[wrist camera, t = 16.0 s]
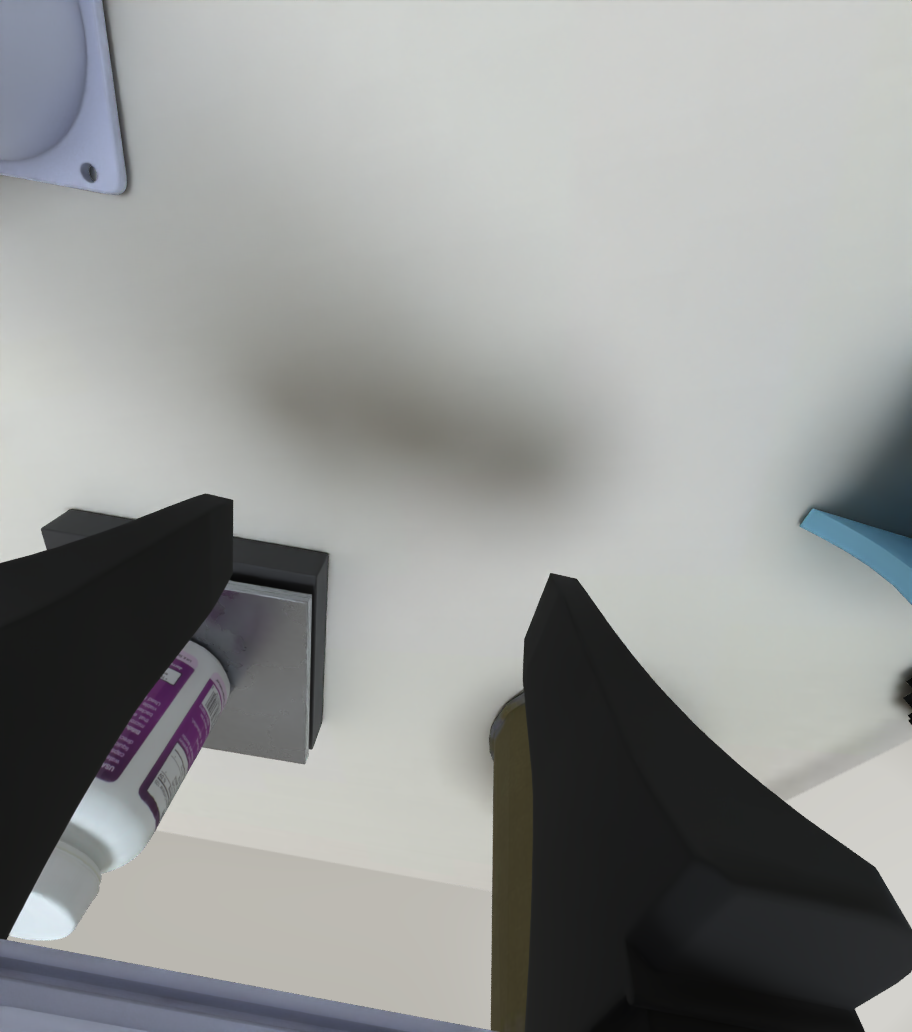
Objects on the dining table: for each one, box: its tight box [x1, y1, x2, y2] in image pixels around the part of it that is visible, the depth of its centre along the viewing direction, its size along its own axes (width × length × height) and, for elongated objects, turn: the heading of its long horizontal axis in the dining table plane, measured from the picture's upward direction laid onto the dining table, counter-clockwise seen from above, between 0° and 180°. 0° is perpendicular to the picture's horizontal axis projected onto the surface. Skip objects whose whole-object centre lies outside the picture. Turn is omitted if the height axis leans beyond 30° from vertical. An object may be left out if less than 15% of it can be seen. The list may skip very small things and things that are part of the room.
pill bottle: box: [9, 640, 230, 940], centre depth 20 cm, size 5×5×10 cm
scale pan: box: [190, 580, 312, 764], centre depth 24 cm, size 11×11×1 cm
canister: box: [489, 693, 533, 1032], centre depth 20 cm, size 11×10×20 cm
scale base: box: [41, 509, 328, 749], centre depth 25 cm, size 12×12×2 cm
